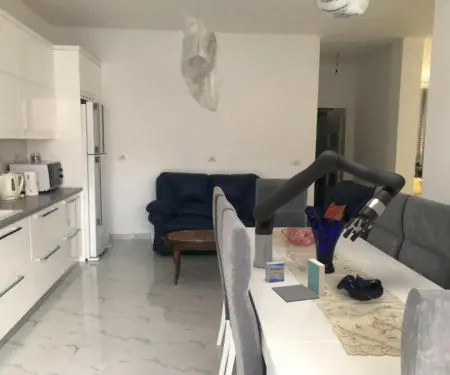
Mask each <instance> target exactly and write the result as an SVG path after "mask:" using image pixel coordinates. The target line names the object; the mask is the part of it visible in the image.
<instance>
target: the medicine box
mask: <svg viewBox="0 0 450 375" xmlns="http://www.w3.org/2000/svg"><path fill="white" fill-rule="evenodd" d="M265 264H266V267H265V268H264V270H265V273H264V274H265V281H267V282H268V283H277V282H284V281H285V262H283V261H282V260H277V261H274V260H273V261H272V262H266V263H265Z"/></svg>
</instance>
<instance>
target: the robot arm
mask: <svg viewBox="0 0 450 375" xmlns="http://www.w3.org/2000/svg"><path fill="white" fill-rule="evenodd" d="M333 170H338V171H341V172H345V173H348V174H349V175H350V176H353V177H355V178H357V179H359V180H361V181H364V182H366V183H369V184H372V185H375V186H379V185H382V186H383V187H381V189H380V190H378V191H377V192H376V193H375V195H374V196H373V197H372V198H371V199H370V200H368V201H367V203H366V204H365V205H364V206H363V207H362V208H361V210H360V211H359V213H358V216H357V217H356V218H355V217H353V216H352V217H351V218H350V220H349V221H348V223H347V224H346V226H345V227H346V230H345V231H344V233H343V234H342V237H343V238H344V239H348V238H349V240H350V241H351V242H352V243H354V242H355V241H356V240H357V239H358V238H359V237H361V236H362V237H364V236H366V234H368V233H369V232H370V231H371V230H372V229H373V228H374V226H373V225H372V224H374V223H375V222H376V220H377V219H378V218H379V217H380V216H381V215H382V214H383V212H384V211H385V209H386V208H387V207H388V206H389V205H390V204H391V202H392V200H394V199H395V197H396V196H397V195H398V194H400V192H401V191H402V190H403V189H404V187H405V185H406V184H407V183H406V179H405V177H404V176H403V175H402V174H399V173H397V172H393V171H384V170H381V169H378V168H375V167H371V166H369V165H366V164H363V163H360V162H356V161H354V160H351V159H349V158H347V157H346V156H343V155H341V154H339V153H338V152H336V151H333V150H329V149H327V150H324V151H323V152H321V153H320V154H319V155H318V157H316V159H315V160H314V161H312V163H311V164H309V166H307V167H306V168H305V169H303V170H302V171H299V172H298V173H297V174H294V175H293V176H292V177H291V178H289V179H288V180H287V181H285V182H284V183H283V184H281V185H280V187H279V188H277V189H276V190H275V191H274V192H273V193H272V194H271V195H270V196H268V198H266V199H264V200H263V201H261V202H260V203H258V204H256V205H255V206H254V207H253V209H252V216H253V218H254V220H255V221H257V223H256V225H255V227H254V228H255V229H254V266H255V267H256V268H261V269H265V267H266V264H265V263H266V262H273V254H274V253H273V251H274V250H273V247H274V245H273V244H274V242H273V241H274V240H273V237H274V236H273V235H274V229H275V228H274V227H275V219H276V218H275V212H276V211H277V210H279V209H280V208H282V207H283V206H285V205H287V204H289V203H290V202H292V201H294V200H295V199H296V198H298V197H299V196H300V195H302V194H303V193H304V192H305V191H306V190H308V189H309V188H310V187H311V186H312V185H313V184H314V183H315V182H316V181H317V180H319V179H320V178H322V177H323V176H325V175H327V174H328V173H329V172H331V171H333ZM354 231H355V232H354ZM353 232H354V233H353ZM352 233H353V234H352ZM351 234H352V235H351ZM349 236H350V237H349Z"/></svg>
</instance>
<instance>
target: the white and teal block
mask: <svg viewBox="0 0 450 375" xmlns="http://www.w3.org/2000/svg"><path fill="white" fill-rule="evenodd" d="M325 268H326V266H325V264H323V263H322V262H320V261H318V260H317V259H315V258H308V259H307V288H308V289H309V290H311V291H312V292H313V293H315V294H316V295H317V296H324V295H325V270H326V269H325Z"/></svg>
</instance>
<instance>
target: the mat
mask: <svg viewBox="0 0 450 375" xmlns="http://www.w3.org/2000/svg"><path fill="white" fill-rule="evenodd" d="M271 290H272V291H274V292H275V293H276V294H277V295H278V296H279V297H280V298H281V299H283V300H284V302H285V303H291V302H293V303H294V302H300V301H307V300H309V301H310V300H315V299H320V295H318V294H316V293H315V292H314V291H312V290H311V289H310V288H308V286H307V287H306V286H305V285H304V284H302V283H300V284H293V285H285V286H284V285H283V286H274V287H271Z"/></svg>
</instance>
